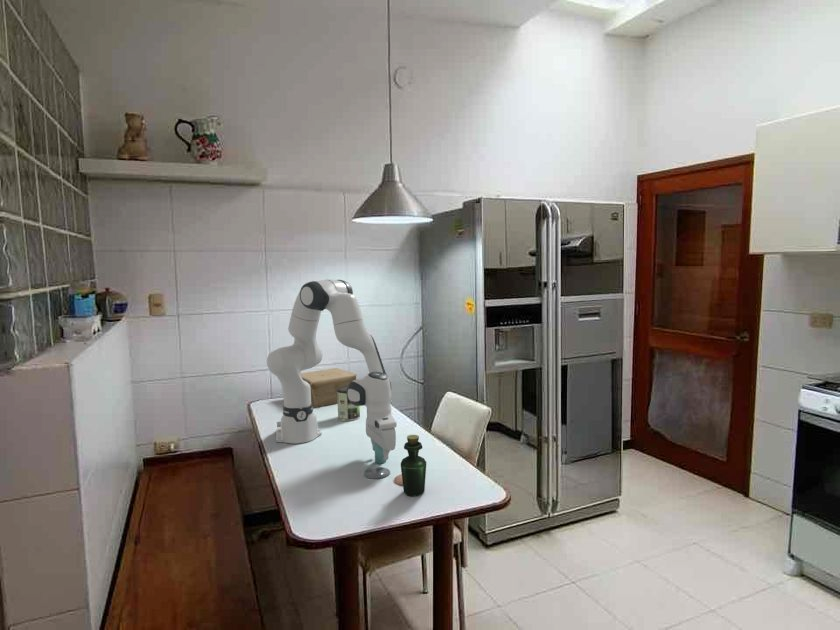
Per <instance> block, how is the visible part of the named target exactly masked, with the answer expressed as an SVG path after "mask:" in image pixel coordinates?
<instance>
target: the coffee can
mask: <svg viewBox="0 0 840 630" xmlns="http://www.w3.org/2000/svg"><path fill="white" fill-rule="evenodd" d="M346 390H347V386H342V387H338V388H337V400H338V403H337V419H338V420H339V421H342V422H349V421H350V422H351V421H352V422H353V421H357V420H359V419H360V418H361V409H360V407H361V406H355V405H353V404H351V403H350V402H349V400H348V398H347V394H346Z"/></svg>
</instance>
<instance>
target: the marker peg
mask: <svg viewBox="0 0 840 630" xmlns="http://www.w3.org/2000/svg"><path fill="white" fill-rule="evenodd" d="M374 445H375V451H374V463H375V464H376V465H382V464H385V463H386V462H387V460H384V459H383V458H382V454H383V448H381V447H380V446H379V445H378V444H377V443H376V442H375V443H374Z"/></svg>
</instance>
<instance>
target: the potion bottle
mask: <svg viewBox="0 0 840 630" xmlns="http://www.w3.org/2000/svg"><path fill="white" fill-rule="evenodd" d="M419 438H420V436H419V435H417V434H409V435H407V436H406V440H407V442H406V441H405V443H404V445H403V449H404V450H406V451H407V456H406V457H404V458H402V460H401V462H400V470H401V473H400V474H402V481H403V486H402V488H403V489H402V490H403V493H404V494H405V496H408V497H419V496H422V495H423V494H424V493H425V489H426V486H425V485H426V476H427V475H426V474H427V461H426V459H425V458H424V457H422V456H420V455H419V451H420V450H422V449H423V445H422V443H421V442H420V441H419V440H420V439H419Z"/></svg>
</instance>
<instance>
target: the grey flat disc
mask: <svg viewBox="0 0 840 630" xmlns="http://www.w3.org/2000/svg"><path fill="white" fill-rule="evenodd" d="M390 475H391V470H390V469H389V468H387V467H383V466H382V467H381V466H375V467H370V468H368V469H366V470H364V472H363V476H364V478H367V479H371V480H378V479H379V480H381V479H385V478H387V477H388V476H390Z"/></svg>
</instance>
